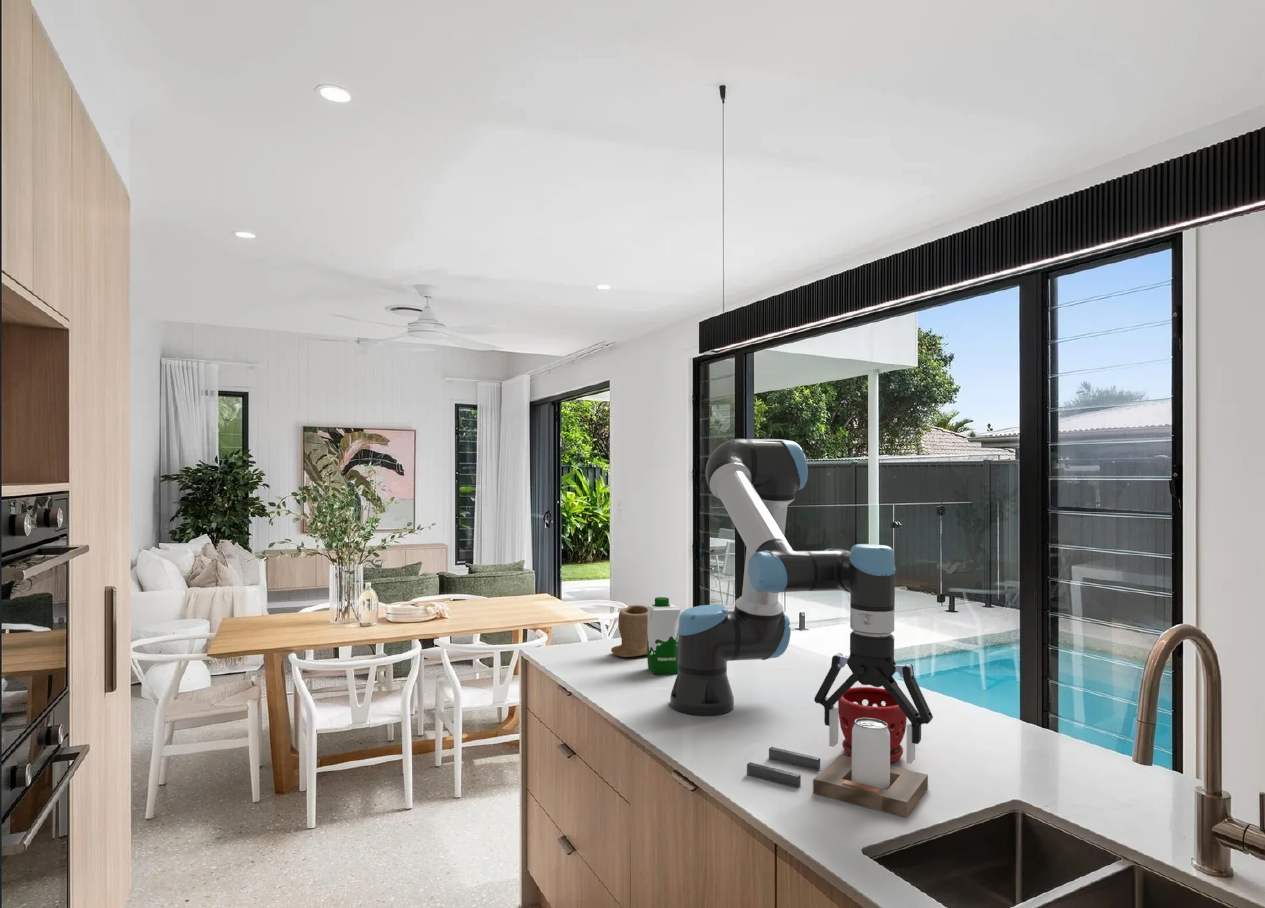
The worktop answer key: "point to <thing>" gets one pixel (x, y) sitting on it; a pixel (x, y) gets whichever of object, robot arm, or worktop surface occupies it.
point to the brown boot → (632, 631)
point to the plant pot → (872, 716)
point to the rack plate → (871, 788)
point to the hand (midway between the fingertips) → (871, 752)
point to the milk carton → (662, 637)
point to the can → (871, 753)
